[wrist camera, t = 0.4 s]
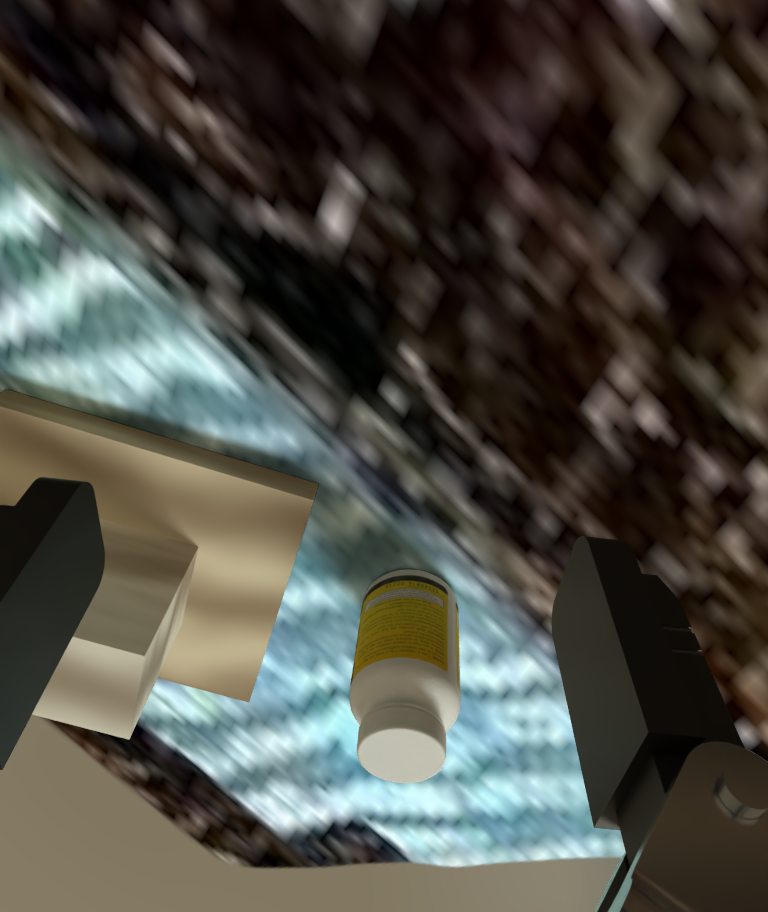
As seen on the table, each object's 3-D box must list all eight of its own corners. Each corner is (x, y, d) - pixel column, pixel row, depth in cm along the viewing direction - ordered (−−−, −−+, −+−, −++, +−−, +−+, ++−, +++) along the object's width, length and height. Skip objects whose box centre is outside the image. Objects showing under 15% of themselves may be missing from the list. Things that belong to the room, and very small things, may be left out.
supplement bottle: (345, 585, 38) (318, 735, 30) (431, 552, 36) (428, 702, 28) (391, 647, 40) (378, 804, 32) (474, 619, 39) (483, 776, 30)
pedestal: (5, 388, 33) (-128, 490, 25) (318, 484, 35) (283, 607, 27) (0, 613, 41) (-101, 742, 33) (254, 682, 43) (213, 821, 35)
